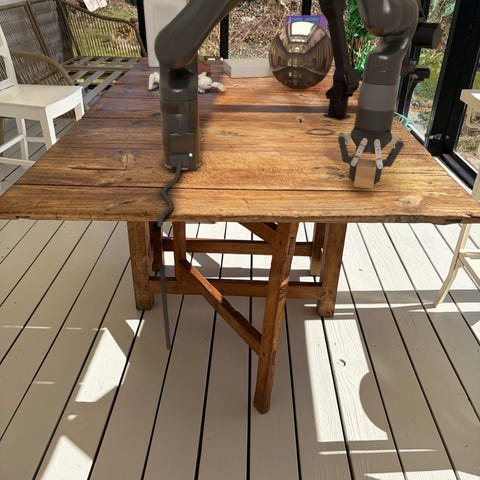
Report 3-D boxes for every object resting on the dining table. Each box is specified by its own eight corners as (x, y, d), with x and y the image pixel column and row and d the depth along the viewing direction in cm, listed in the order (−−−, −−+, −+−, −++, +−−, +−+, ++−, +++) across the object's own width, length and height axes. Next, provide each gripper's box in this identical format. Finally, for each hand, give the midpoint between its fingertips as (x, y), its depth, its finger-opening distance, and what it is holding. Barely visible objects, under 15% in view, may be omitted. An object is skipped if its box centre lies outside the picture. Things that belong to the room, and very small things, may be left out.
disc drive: (281, 76, 210) (281, 64, 208) (231, 78, 206) (231, 66, 203) (269, 68, 225) (270, 57, 222) (223, 70, 220) (223, 58, 218)
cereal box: (285, 75, 212) (289, 16, 200) (282, 73, 216) (285, 15, 204) (321, 73, 216) (327, 15, 204) (317, 71, 220) (322, 14, 208)
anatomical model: (204, 86, 208) (191, 72, 218) (219, 73, 207) (206, 59, 217) (188, 66, 199) (175, 52, 208) (204, 52, 198) (190, 38, 207)
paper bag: (192, 61, 237) (190, -2, 222) (188, 67, 224) (186, 1, 210) (154, 60, 237) (149, -3, 223) (148, 66, 225) (143, 0, 210)
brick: (354, 178, 108) (357, 158, 106) (372, 179, 108) (375, 160, 105) (353, 186, 104) (356, 166, 102) (372, 188, 104) (376, 168, 101)
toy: (168, 102, 172) (167, 83, 168) (144, 87, 190) (143, 69, 186) (228, 94, 182) (228, 76, 179) (199, 80, 201) (199, 63, 197)
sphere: (332, 84, 199) (340, 18, 186) (325, 99, 179) (333, 26, 166) (274, 79, 205) (277, 15, 192) (260, 93, 184) (263, 23, 171)
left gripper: (340, 106, 95) (330, 185, 104) (414, 112, 93) (397, 192, 101) (341, 97, 101) (332, 171, 110) (411, 102, 99) (395, 178, 108)
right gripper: (367, 47, 132) (359, 104, 140) (438, 51, 129) (426, 109, 137) (367, 41, 141) (359, 95, 149) (433, 44, 138) (421, 99, 146)
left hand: (363, 181), depth 106 cm, fingers closed on brick, 4 cm apart
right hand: (391, 99), depth 145 cm, fingers open, 9 cm apart
